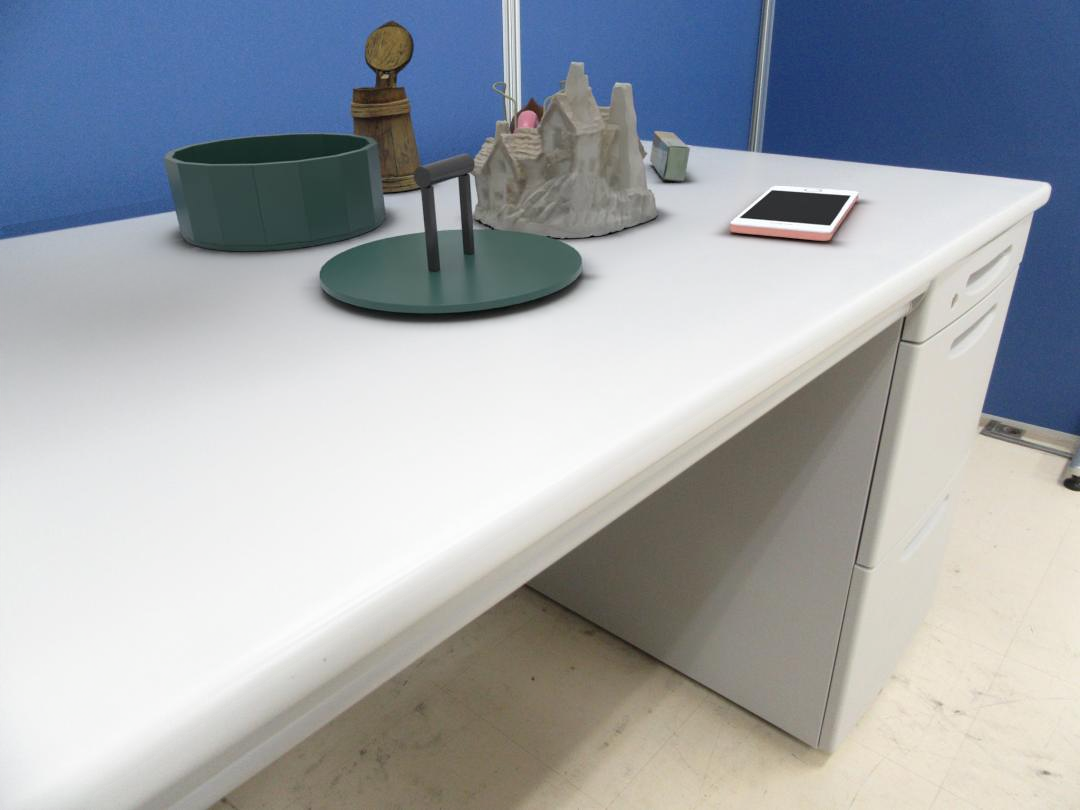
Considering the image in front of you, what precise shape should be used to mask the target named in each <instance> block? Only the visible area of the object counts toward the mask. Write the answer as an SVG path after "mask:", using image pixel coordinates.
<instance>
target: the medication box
mask: <svg viewBox="0 0 1080 810" xmlns="http://www.w3.org/2000/svg"><path fill="white" fill-rule="evenodd" d="M690 152H691V148H690V147H689V146H688V145H687V144H686V143H685V142H684V141H683V140H682V139H680V137H678V136H677V135H676V134H675V133H674V132H672V131H671V132H670V131H660V130H654V131H653V137H652V144H651V150H650V156H649V162H650V163H651V165H652V166H653V168H654V169H655V170H656V171H657V173H658V174H659V176H660V177H661V179H662V180H663V182H665V181H666V182H675V183H684V182H685V180H686V179H685V178H686V173H687V168H688V162H689V157H690Z"/></svg>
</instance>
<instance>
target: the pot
mask: <svg viewBox="0 0 1080 810" xmlns="http://www.w3.org/2000/svg"><path fill="white" fill-rule="evenodd" d="M163 162H164V166H165V172H166V175H167V179H168V184H169V188H170V192H171V193H170V194H171V196H172V201H173V205H174V209H175V210H174V211H175V215H176V218H177V222H178V227H179V231H180V235H182V237H183V239H184V240H185V241H186V242H187V243H188V244H190V245H193V246H196V247H200V248H204V249H207V250H208V249H209V250H215V251H216V250H217V251H225V252H267V251H268V252H269V251H281V250H282V251H284V250H293V249H301V248H302V249H303V248H308V247H315V246H321V245H326V244H332V243H336V242H340V241H345V240H348V239H352V238H356V237H358V236H361V235H364V234H366V233H368V232H371V231H374V230H375V229H377V228H378V227H379V226H381V225H382V224H383V223H384V221H385V216H386V213H387V212H386V206H385V197H384V193H383V187H382V178H381V169H380V160H379V151H378V143H377V142H376V141H375V140H374V139H373V138H370V137H365V136H360V135H355V134H354V133H352V134H351V133H336V132H335V133H333V132H295V133H294V132H293V133H292V132H290V133H275V134H262V135H260V134H259V135H250V136H239V137H232V138H231V137H230V138H222V139H215V140H211V141H210V140H209V141H204V142H200V143H193V144H189V145H184V146H182V147H178V148H176V149H172V150H169V151H167V152H166V154H165V156H164V157H163Z"/></svg>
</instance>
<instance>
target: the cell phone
mask: <svg viewBox="0 0 1080 810" xmlns="http://www.w3.org/2000/svg"><path fill="white" fill-rule="evenodd" d="M859 195H860V192H859V191H858V190H847V189H833V188H818V187H816V188H815V187H803V186H788V185H787V186H786V185H773V186H771V187H770V188H769V189H767V190H766V191H765V192H764V193H762V194H761V195H760V196H759V197H757V199H755V201H753V202H752V203H751V204H750V205H748V206H747V207H746V208H745V209H743V211H741V212H740V213H739V214H738V215H737V216H735V218H733V219H732V220H731V221H730V223H729V224H730V225H729V231H730V232H732V233H737V234H745V235H746V234H747V235H757V236H767V237H776V238H777V237H778V238H788V239H789V238H790V239H797V240H798V239H800V240H810V241H820V242H821V241H822V242H823V241H826V242H827V241H829V240H831V239H832V237H833V236H834V234H835V232H836V231H837V230H838V228H839V227H840V225H841V224H842V222H843V221H844V220H845V218H846V217H847V215H848V213H849V212H850V210H851V209H852V208H853V207H854V206H855V203H856V202H857V201H858V200H859Z"/></svg>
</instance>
